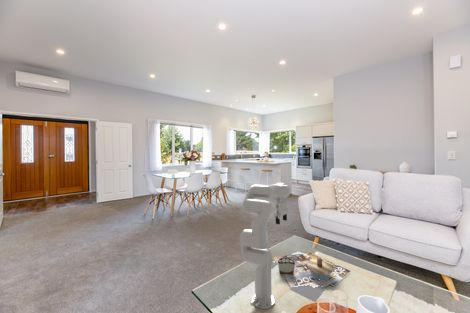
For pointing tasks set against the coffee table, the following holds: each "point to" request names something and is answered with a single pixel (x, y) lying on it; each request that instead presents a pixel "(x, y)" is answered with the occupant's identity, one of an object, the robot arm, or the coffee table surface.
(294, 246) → the coffee table surface
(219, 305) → the coffee table surface
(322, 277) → the bowl
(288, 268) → the food container
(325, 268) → the lid
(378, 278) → the coffee table surface
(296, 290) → the mat
